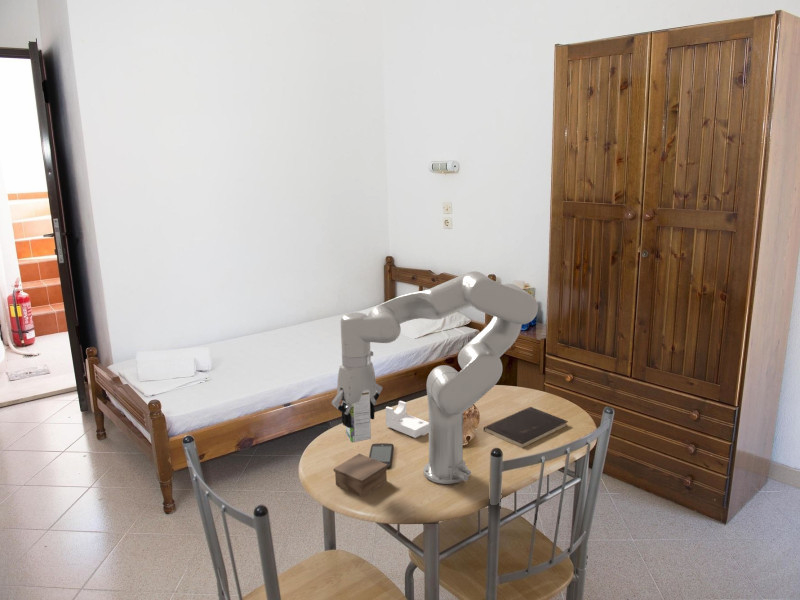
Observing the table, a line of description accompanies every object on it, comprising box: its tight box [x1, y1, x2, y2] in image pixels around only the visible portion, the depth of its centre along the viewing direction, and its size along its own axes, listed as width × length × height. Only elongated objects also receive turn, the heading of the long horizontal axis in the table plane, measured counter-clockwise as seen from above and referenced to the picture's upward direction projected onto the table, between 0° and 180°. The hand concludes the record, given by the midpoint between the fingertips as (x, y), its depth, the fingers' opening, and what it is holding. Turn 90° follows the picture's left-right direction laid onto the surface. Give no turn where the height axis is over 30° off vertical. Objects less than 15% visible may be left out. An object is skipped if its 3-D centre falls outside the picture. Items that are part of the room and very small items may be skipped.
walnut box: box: [332, 453, 389, 497], centre depth 175 cm, size 11×11×5 cm
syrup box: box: [345, 389, 372, 443], centre depth 170 cm, size 6×6×14 cm
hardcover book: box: [483, 406, 569, 449], centre depth 205 cm, size 16×23×2 cm
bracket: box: [385, 400, 429, 439], centre depth 205 cm, size 13×7×8 cm, turn 46°
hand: (358, 421), depth 171 cm, fingers closed on syrup box, 7 cm apart
